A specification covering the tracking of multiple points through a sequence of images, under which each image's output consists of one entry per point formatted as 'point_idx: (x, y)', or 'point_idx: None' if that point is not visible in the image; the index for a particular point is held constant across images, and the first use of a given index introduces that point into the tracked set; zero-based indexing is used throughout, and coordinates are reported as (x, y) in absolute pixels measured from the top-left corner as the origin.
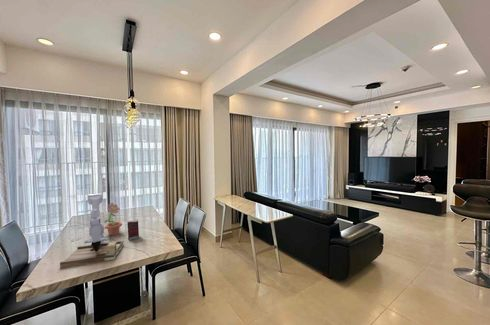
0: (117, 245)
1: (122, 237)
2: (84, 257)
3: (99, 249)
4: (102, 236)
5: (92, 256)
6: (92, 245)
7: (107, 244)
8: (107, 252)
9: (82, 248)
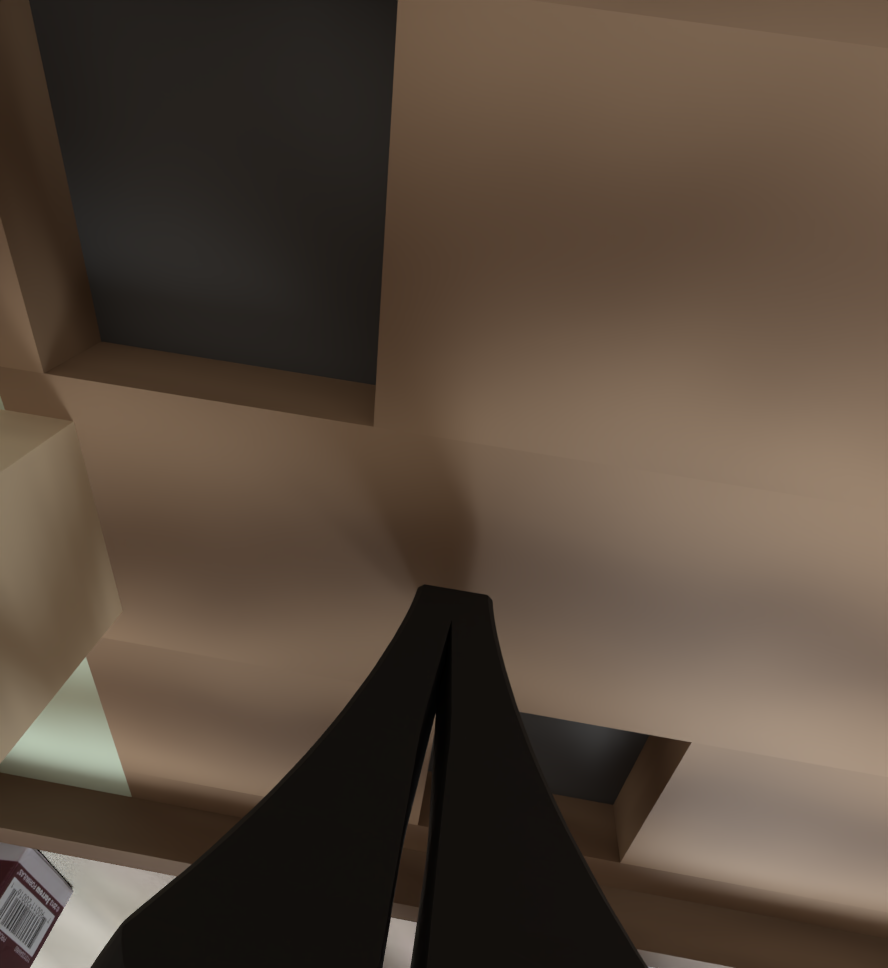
0: None
1: None
2: (876, 353)
3: None
4: None
5: (540, 279)
6: (598, 946)
7: None
8: (45, 395)
9: (859, 929)
